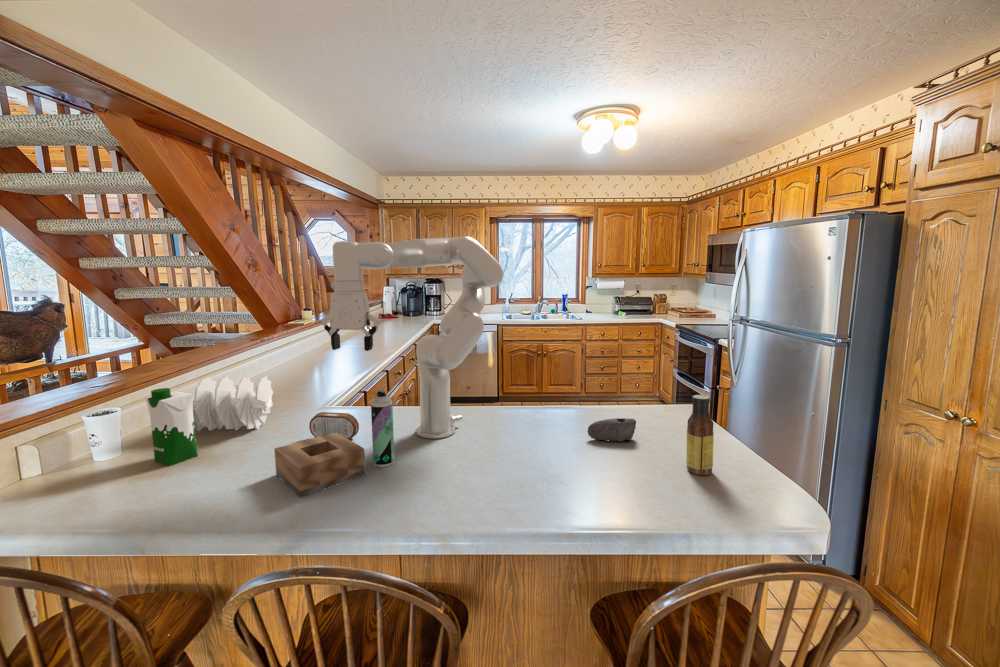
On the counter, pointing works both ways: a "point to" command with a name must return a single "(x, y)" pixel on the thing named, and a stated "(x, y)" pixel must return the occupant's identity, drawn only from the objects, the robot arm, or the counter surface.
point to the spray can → (382, 430)
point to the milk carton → (172, 426)
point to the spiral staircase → (231, 403)
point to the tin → (334, 424)
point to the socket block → (319, 463)
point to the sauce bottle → (700, 437)
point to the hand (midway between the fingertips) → (352, 349)
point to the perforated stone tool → (612, 429)
